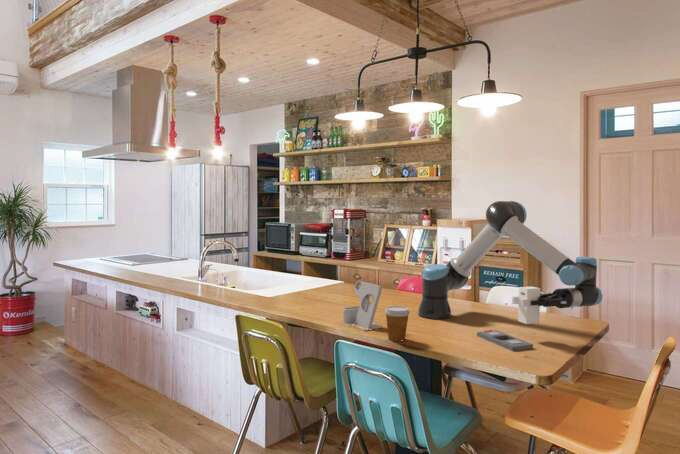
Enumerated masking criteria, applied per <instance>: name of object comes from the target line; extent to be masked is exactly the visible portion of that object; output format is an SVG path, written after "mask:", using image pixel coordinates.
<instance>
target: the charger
mask: <svg viewBox="0 0 680 454" xmlns="http://www.w3.org/2000/svg"><path fill="white" fill-rule="evenodd" d="M540 293H541V287H540V288H539V287H536V286H519V287H518V296H519V303H518V304H517V306H518V307H517V308H518V309H517V310H518V311H517V313H518V314H517V321H518V322H520V323H523V324H525V325H529V324H530V325H531V324H538V323H540V311H541V309H540V307H541V306H538V305H537V306H530V307H522V299H533V298H537V300H538V297H540Z"/></svg>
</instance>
